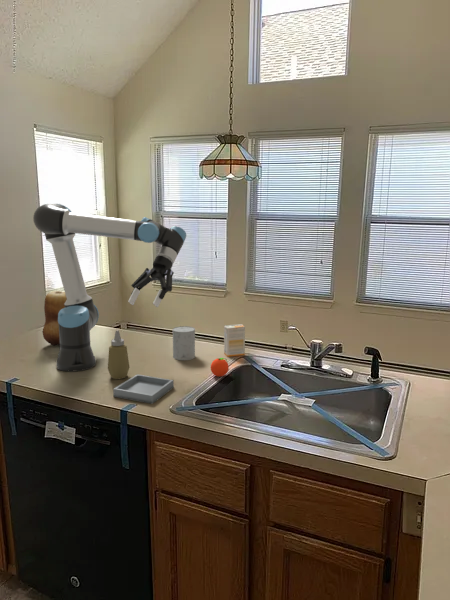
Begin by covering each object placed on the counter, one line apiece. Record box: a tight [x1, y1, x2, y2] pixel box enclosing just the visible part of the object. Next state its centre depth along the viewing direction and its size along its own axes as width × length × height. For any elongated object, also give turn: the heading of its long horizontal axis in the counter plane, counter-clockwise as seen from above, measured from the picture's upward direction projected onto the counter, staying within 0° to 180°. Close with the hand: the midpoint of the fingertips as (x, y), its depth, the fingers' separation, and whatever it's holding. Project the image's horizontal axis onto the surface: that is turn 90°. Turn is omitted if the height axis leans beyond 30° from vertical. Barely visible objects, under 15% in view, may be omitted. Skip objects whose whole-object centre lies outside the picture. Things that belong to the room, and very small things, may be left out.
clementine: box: [210, 357, 230, 377], centre depth 176 cm, size 8×7×7 cm
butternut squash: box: [41, 290, 67, 347], centre depth 211 cm, size 14×13×25 cm
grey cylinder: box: [172, 325, 196, 361], centre depth 197 cm, size 10×10×12 cm
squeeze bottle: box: [107, 330, 130, 380], centre depth 172 cm, size 8×8×18 cm
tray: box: [112, 373, 175, 405], centre depth 160 cm, size 15×15×3 cm
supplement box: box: [223, 323, 246, 358], centre depth 200 cm, size 8×5×13 cm, turn 108°
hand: (142, 304), depth 179 cm, fingers open, 13 cm apart
